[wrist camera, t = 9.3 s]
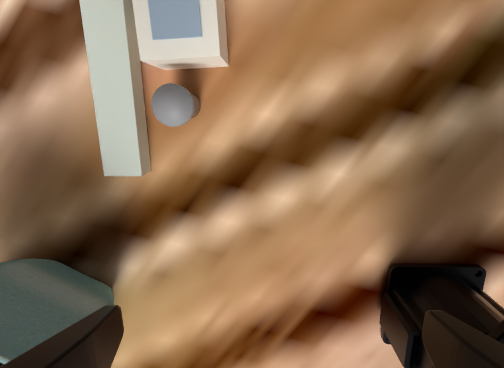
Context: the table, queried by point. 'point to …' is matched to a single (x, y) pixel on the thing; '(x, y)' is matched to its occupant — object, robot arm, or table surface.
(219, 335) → the table surface
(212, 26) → the cream rectangular block
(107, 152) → the rail
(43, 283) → the flower pot
